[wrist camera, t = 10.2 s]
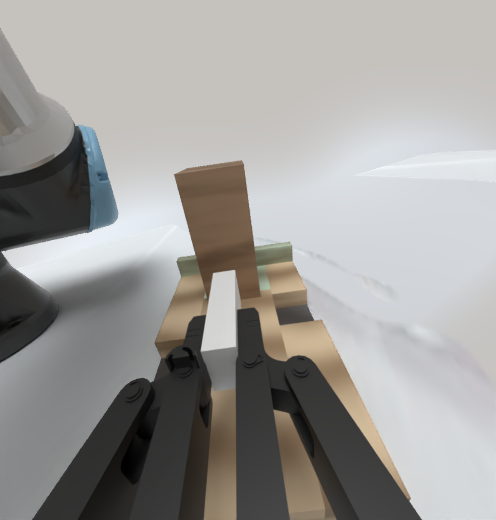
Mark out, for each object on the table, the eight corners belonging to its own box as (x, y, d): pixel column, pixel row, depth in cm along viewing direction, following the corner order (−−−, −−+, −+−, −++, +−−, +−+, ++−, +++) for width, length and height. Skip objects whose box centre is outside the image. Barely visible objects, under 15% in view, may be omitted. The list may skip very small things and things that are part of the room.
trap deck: (401, 517, 12) (423, 474, 9) (96, 555, 12) (45, 522, 9) (291, 271, 34) (289, 241, 32) (187, 286, 34) (178, 257, 32)
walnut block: (260, 296, 25) (243, 164, 19) (208, 304, 26) (174, 174, 19) (256, 270, 31) (241, 160, 24) (213, 276, 31) (187, 168, 24)
